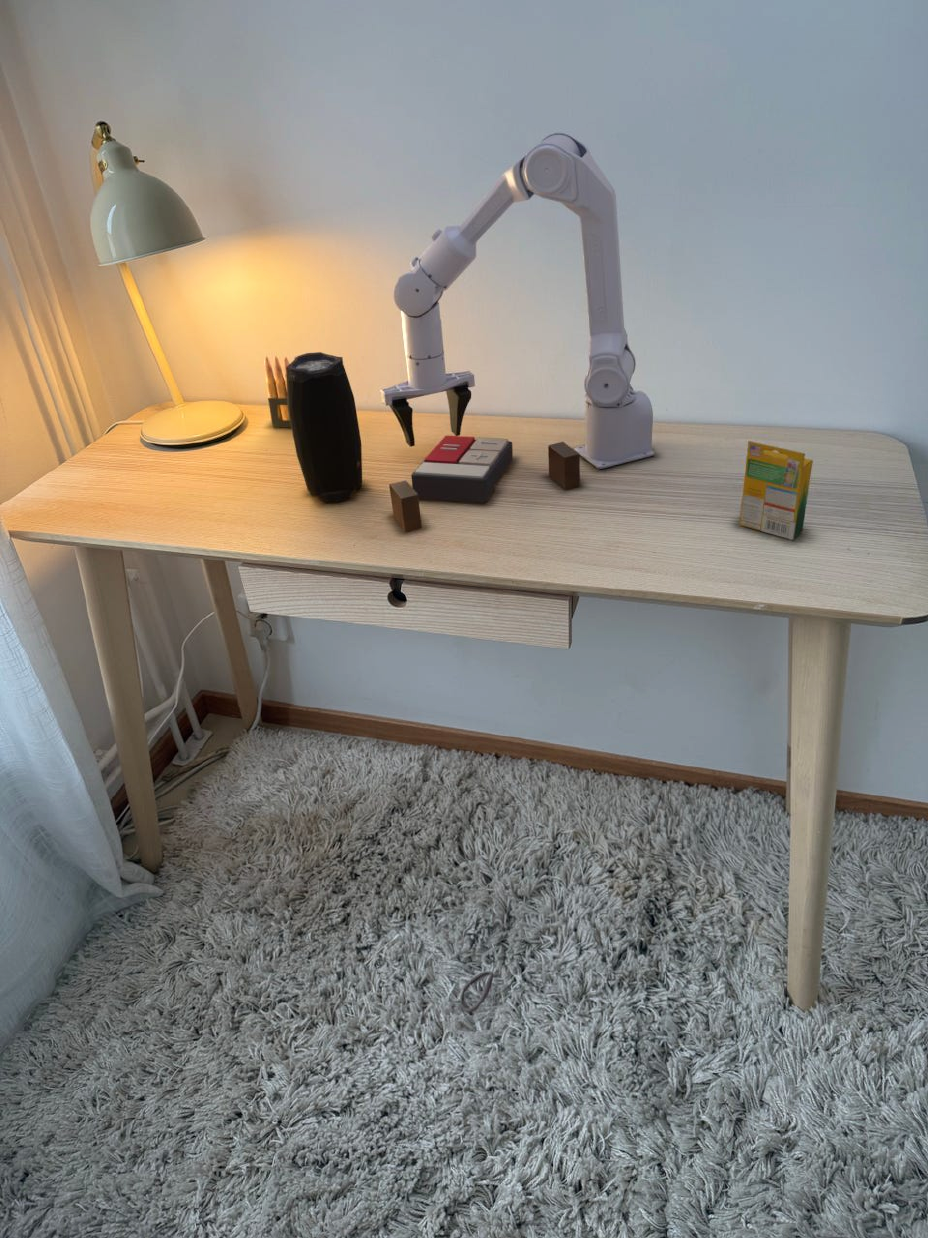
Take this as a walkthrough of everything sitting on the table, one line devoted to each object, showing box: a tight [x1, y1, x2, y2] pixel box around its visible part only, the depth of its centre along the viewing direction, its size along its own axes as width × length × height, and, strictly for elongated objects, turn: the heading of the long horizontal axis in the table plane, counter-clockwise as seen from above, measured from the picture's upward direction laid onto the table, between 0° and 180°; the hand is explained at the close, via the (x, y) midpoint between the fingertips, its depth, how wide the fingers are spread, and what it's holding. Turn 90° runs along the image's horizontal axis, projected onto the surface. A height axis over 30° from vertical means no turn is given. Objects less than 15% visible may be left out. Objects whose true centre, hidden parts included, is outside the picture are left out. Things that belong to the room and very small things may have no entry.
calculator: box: [410, 435, 514, 504], centre depth 134 cm, size 11×4×15 cm
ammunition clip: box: [263, 355, 297, 428], centre depth 154 cm, size 11×2×12 cm, turn 75°
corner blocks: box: [388, 441, 581, 533], centre depth 127 cm, size 26×5×5 cm, turn 112°
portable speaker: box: [286, 351, 363, 504], centre depth 129 cm, size 9×9×20 cm
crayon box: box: [738, 440, 813, 541], centre depth 113 cm, size 7×3×12 cm, turn 49°
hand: (433, 438), depth 144 cm, fingers open, 7 cm apart
